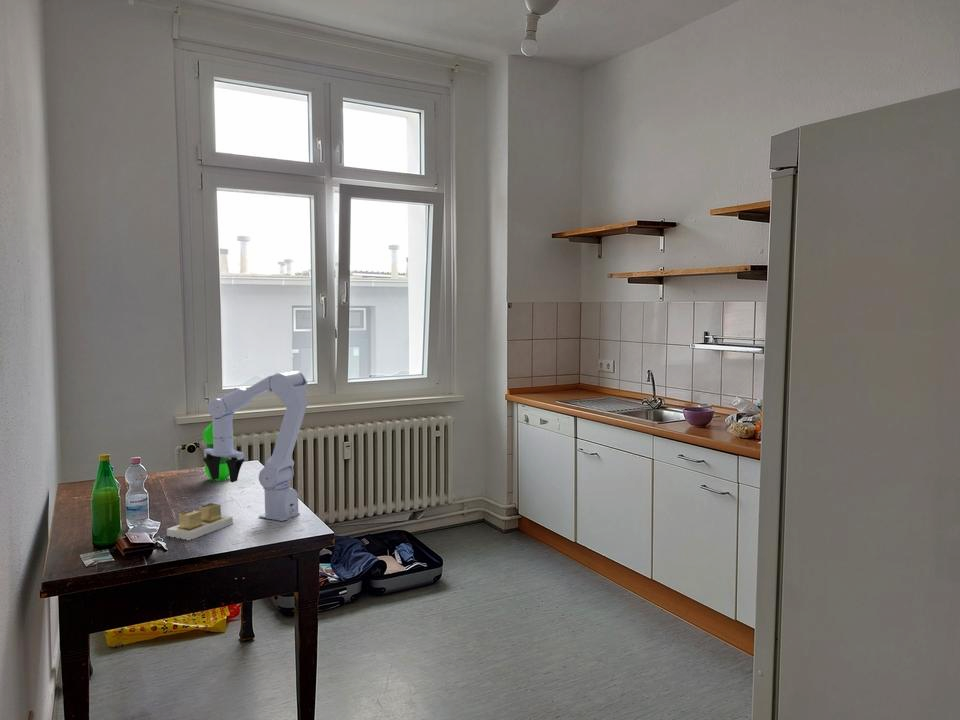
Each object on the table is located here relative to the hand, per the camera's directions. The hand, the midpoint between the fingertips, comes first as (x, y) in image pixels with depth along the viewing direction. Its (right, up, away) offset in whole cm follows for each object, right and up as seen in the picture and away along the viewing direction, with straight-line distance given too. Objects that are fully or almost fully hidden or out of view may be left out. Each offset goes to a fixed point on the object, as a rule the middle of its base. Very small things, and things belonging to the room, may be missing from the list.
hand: (224, 480), depth 209 cm
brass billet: (+1, -11, -14) cm, 18 cm away
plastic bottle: (-16, -7, +39) cm, 43 cm away
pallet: (0, -11, -18) cm, 21 cm away
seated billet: (-2, -11, -21) cm, 24 cm away
